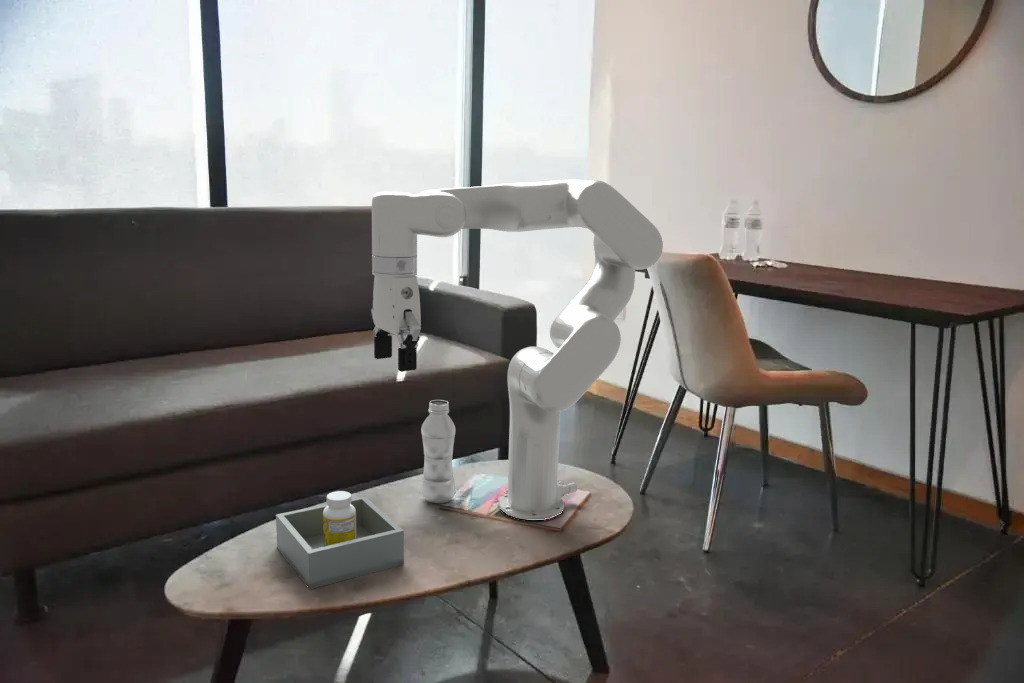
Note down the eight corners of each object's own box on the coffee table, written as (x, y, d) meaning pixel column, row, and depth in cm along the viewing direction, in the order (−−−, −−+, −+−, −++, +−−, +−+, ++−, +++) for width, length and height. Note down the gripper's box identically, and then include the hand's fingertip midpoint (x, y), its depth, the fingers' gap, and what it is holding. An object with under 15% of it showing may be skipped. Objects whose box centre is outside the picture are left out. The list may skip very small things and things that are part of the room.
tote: (365, 527, 146) (364, 495, 145) (403, 564, 133) (403, 530, 132) (277, 547, 138) (275, 514, 136) (309, 589, 125) (308, 553, 123)
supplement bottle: (352, 557, 133) (350, 502, 131) (319, 556, 133) (318, 501, 131) (360, 542, 138) (358, 489, 136) (329, 541, 138) (327, 488, 136)
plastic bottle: (450, 509, 155) (451, 408, 151) (416, 505, 156) (416, 405, 152) (459, 495, 161) (460, 399, 157) (426, 492, 162) (427, 396, 158)
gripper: (438, 271, 132) (437, 373, 136) (393, 259, 146) (393, 351, 150) (396, 273, 128) (396, 378, 132) (353, 261, 142) (355, 355, 146)
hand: (394, 364), depth 141 cm, fingers open, 9 cm apart
